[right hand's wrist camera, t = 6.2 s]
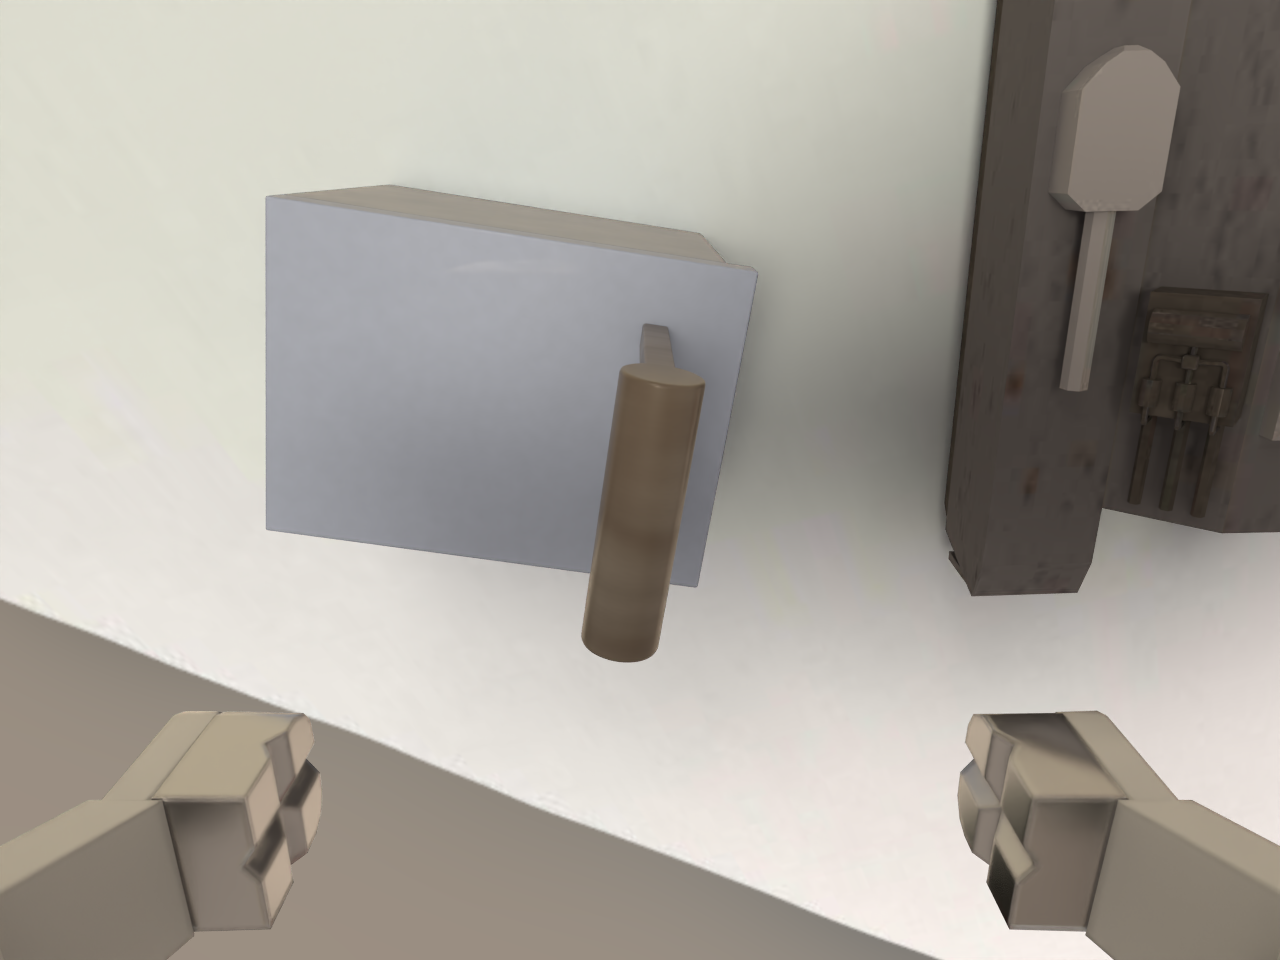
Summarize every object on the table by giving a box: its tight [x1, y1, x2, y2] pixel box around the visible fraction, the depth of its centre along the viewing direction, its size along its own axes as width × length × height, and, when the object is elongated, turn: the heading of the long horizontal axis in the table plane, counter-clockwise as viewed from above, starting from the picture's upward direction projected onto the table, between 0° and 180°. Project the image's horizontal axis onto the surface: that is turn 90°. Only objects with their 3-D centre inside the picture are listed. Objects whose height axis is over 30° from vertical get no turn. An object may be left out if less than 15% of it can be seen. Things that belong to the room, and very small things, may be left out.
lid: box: [266, 194, 758, 662], centre depth 21 cm, size 13×9×8 cm
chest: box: [284, 185, 726, 263], centre depth 30 cm, size 12×9×10 cm
